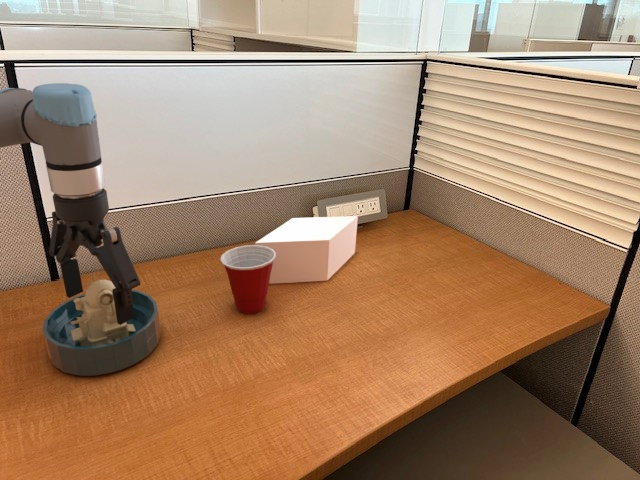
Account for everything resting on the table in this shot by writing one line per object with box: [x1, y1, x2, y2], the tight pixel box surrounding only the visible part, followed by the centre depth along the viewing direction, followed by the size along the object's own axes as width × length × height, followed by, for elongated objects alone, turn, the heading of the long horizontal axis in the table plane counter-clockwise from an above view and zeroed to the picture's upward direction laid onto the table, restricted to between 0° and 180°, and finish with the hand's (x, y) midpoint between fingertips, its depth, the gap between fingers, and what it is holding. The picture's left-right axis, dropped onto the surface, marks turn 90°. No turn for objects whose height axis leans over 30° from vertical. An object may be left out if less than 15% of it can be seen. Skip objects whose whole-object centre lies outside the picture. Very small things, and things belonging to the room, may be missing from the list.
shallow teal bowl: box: [41, 289, 162, 377], centre depth 84 cm, size 18×18×6 cm
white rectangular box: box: [254, 215, 359, 285], centre depth 112 cm, size 14×29×10 cm, turn 127°
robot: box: [70, 264, 136, 346], centre depth 82 cm, size 10×8×15 cm
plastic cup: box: [220, 244, 276, 315], centre depth 96 cm, size 11×11×12 cm
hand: (99, 306), depth 83 cm, fingers open, 13 cm apart
